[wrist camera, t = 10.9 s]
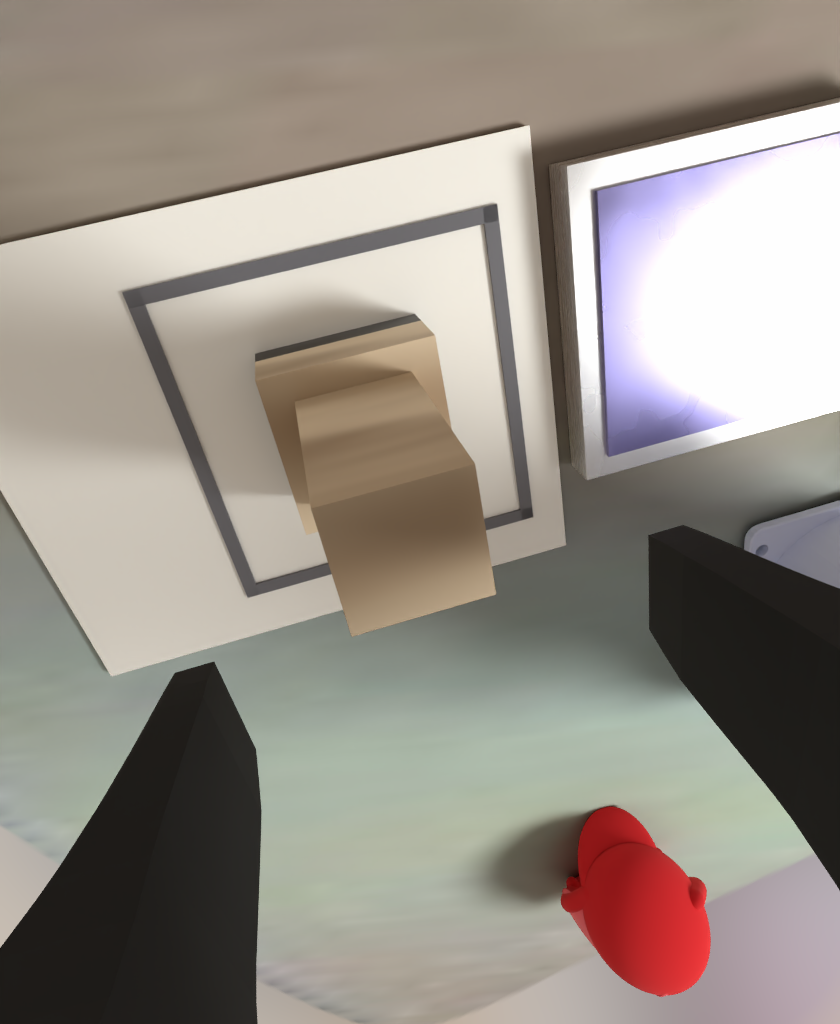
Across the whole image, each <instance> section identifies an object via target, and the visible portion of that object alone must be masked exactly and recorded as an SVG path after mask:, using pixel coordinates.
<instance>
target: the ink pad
mask: <svg viewBox="0 0 840 1024" xmlns="http://www.w3.org/2000/svg"><path fill="white" fill-rule="evenodd" d="M549 177H550V190H551V203H552V216H553V230H554V243H555V256H556V269H557V282H558V295H559V308H560V321H561V334H562V347H563V360H564V373H565V387H566V400H567V413H568V426H569V439H570V452H571V465H572V466H573V467H574V468H575V469H576V470H577V471H578V472H579V473H580V474H581V475H582V476H583V477H584V478H585V479H586V480H590V479H594V478H597V477H601V476H604V475H608V474H612V473H615V472H619V471H622V470H626V469H629V468H633V467H637V466H640V465H644V464H647V463H651V462H654V461H658V460H662V459H665V458H669V457H672V456H676V455H680V454H683V453H687V452H690V451H694V450H697V449H701V448H705V447H708V446H712V445H715V444H719V443H722V442H726V441H730V440H733V439H737V438H740V437H744V436H747V435H751V434H755V433H758V432H762V431H765V430H769V429H772V428H776V427H780V426H783V425H787V424H790V423H794V422H797V421H801V420H805V419H808V418H812V417H815V416H819V415H822V414H826V413H830V412H833V411H837V410H840V97H839V98H835V99H830V100H826V101H822V102H817V103H813V104H809V105H805V106H800V107H796V108H792V109H787V110H783V111H779V112H774V113H770V114H766V115H761V116H757V117H753V118H749V119H744V120H740V121H736V122H731V123H727V124H723V125H718V126H714V127H710V128H705V129H701V130H697V131H692V132H688V133H684V134H680V135H675V136H671V137H667V138H662V139H658V140H654V141H649V142H645V143H641V144H636V145H632V146H628V147H624V148H619V149H615V150H611V151H606V152H602V153H598V154H593V155H589V156H585V157H580V158H576V159H572V160H567V161H563V162H559V163H555V164H550V165H549Z"/></svg>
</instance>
